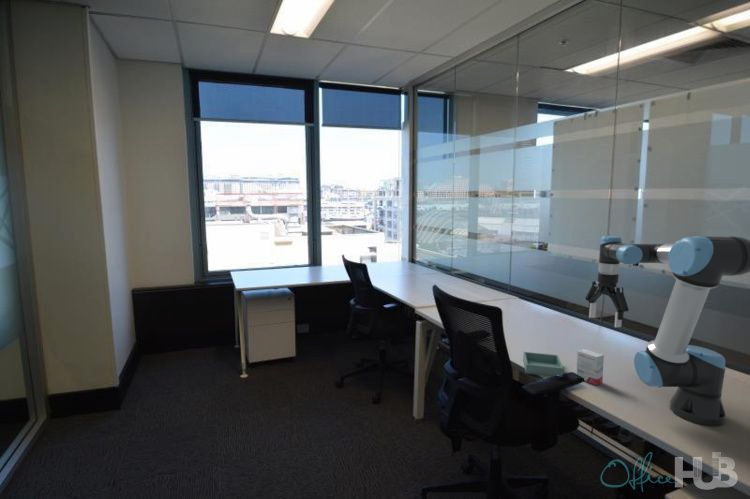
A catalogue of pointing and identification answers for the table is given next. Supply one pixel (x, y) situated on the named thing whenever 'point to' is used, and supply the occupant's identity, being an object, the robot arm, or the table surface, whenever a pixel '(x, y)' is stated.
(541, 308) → the table surface
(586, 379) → the ink box
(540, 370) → the bin
